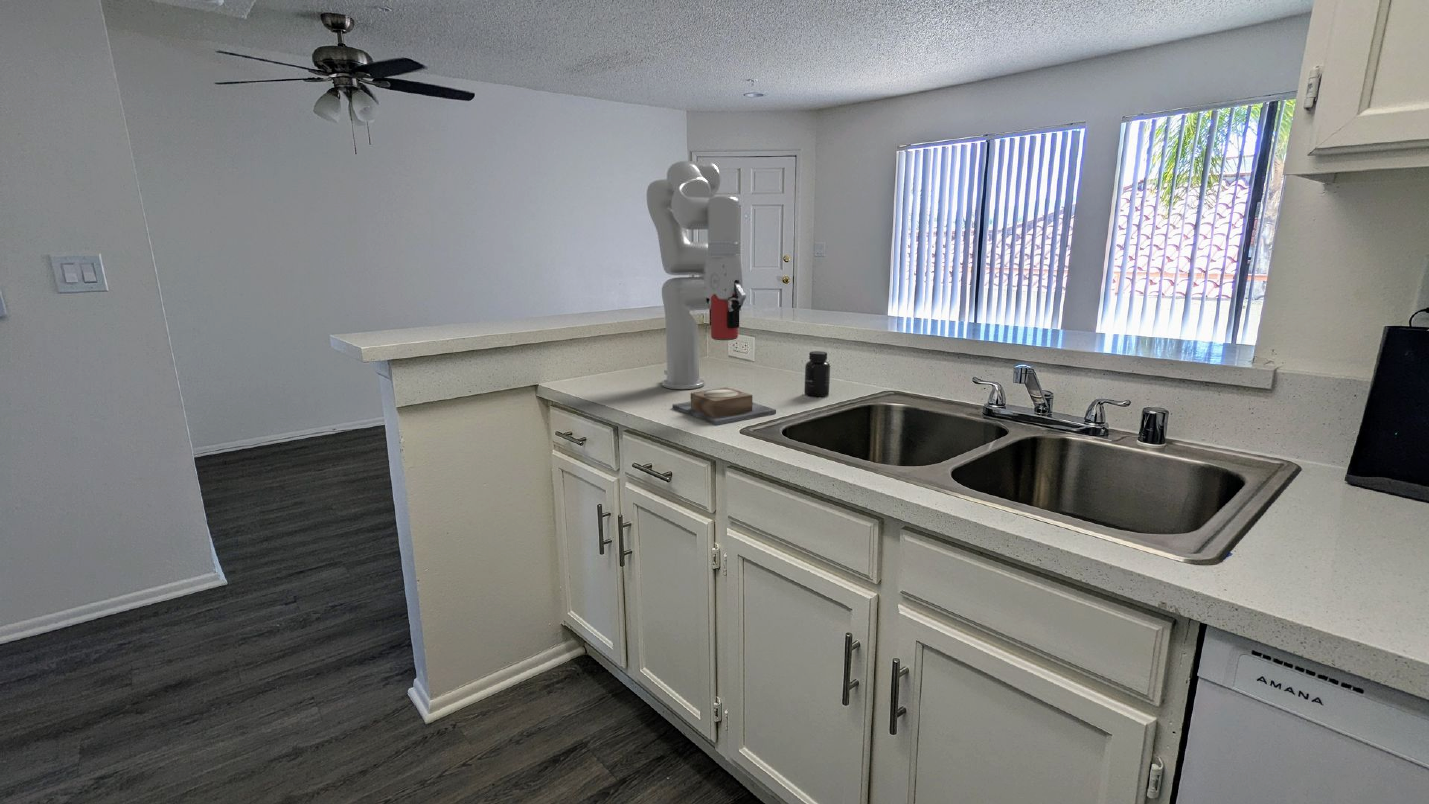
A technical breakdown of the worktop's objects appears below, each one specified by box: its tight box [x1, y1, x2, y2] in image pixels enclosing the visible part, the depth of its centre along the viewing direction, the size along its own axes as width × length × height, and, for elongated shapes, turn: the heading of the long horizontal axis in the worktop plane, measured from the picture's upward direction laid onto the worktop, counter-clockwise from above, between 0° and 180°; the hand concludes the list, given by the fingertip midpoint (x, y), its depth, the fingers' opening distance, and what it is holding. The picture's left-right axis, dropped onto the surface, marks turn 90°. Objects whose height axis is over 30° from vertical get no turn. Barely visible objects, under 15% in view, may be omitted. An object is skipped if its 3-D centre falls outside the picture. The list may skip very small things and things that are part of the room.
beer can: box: [710, 294, 739, 341], centre depth 162 cm, size 7×7×12 cm
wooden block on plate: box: [671, 386, 777, 426], centre depth 169 cm, size 20×18×5 cm
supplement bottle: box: [803, 350, 831, 399], centre depth 184 cm, size 7×7×12 cm
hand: (724, 325), depth 163 cm, fingers closed on beer can, 6 cm apart
